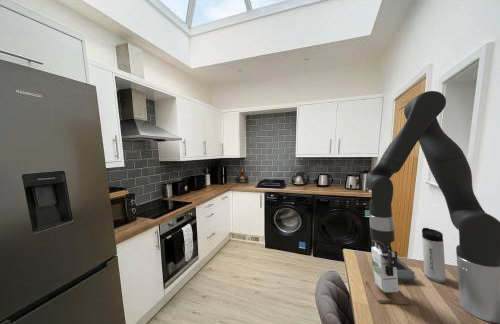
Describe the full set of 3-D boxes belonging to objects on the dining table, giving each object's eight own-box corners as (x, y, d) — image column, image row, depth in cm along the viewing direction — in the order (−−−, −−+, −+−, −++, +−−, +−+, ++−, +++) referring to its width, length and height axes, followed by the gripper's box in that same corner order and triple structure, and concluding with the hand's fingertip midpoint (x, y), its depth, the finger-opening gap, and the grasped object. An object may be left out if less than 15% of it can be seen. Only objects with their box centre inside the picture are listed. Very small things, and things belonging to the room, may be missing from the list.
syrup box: (399, 292, 66) (396, 252, 66) (383, 292, 66) (380, 253, 67) (388, 281, 72) (385, 245, 72) (373, 282, 72) (370, 246, 72)
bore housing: (398, 266, 85) (397, 257, 85) (414, 282, 74) (414, 272, 74) (372, 265, 87) (371, 257, 87) (385, 280, 76) (384, 271, 76)
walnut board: (392, 284, 73) (392, 282, 73) (409, 304, 63) (409, 301, 63) (365, 283, 75) (365, 281, 75) (378, 302, 65) (378, 299, 65)
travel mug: (435, 272, 79) (432, 227, 79) (450, 282, 72) (447, 233, 72) (420, 272, 79) (417, 227, 79) (433, 282, 73) (430, 233, 73)
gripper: (405, 234, 61) (408, 283, 61) (382, 220, 76) (385, 260, 76) (380, 234, 63) (384, 282, 63) (362, 220, 77) (365, 259, 77)
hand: (384, 269), depth 69 cm, fingers closed on syrup box, 6 cm apart
